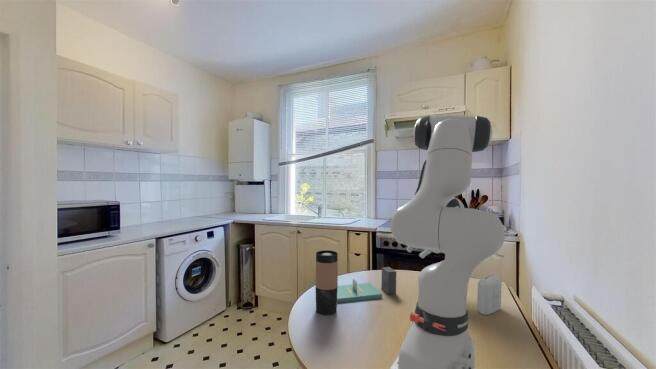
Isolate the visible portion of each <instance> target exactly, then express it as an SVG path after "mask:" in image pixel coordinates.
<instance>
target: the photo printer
mask: <svg viewBox="0 0 656 369" xmlns="http://www.w3.org/2000/svg"><path fill="white" fill-rule="evenodd" d="M502 285H503V284H502V280H501V277H499V276H498V275H495V274H488V275H485V276H482V277H481V278H480V279H479V281H478V282H477V295H476V296H477V298H476V300H477V302H476V306H477V307H476V308H477V310H476V311H477V312H478V313H480V314H482V315H485V316H487V315H492V314H493V313H496V312H497V311H500V310H501V308H502Z"/></svg>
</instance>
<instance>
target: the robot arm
mask: <svg viewBox="0 0 656 369" xmlns="http://www.w3.org/2000/svg"><path fill="white" fill-rule="evenodd" d="M412 130H413V131H412V138H413V141H414V145H415V146H416V148H418V149H420V150H423V151H427V155H426V159H425V160H424V162H423V164H422V167H421V172H420V176H419V179H418V183H417V188H416V190H415V192H414V196H413V197H412V198H411V199H410V200H409V201H408V202H406V203H405V204H404V205H402V206H400V207H398V208H397V209H396V210H395V211H394V213H393V215H392V217H391V220H390V231H391V234H392V237H393V238H394V240H395V241H396V242H397V243H398V244H402V245H404V246H407V248H406V252H408V253H412V251H413V250H414V249H419V250H423V251H421V252H420V253H419V254H418V256H419V258H421V259H425V257H426V256H428V255H430V254H431V253H432V252H433V253H435V254H440V253H443V254H444V255H445V256H444V260H441V261H440V262H436V263H432V264H430V265H427V266H426V267H423V269H422V270H421V271H420V273H419V275H418V280H417V281H418V282H417V284H418V285H417V288H418V289H417V291H418V292H417V300H418V301H417V302H416V305H415V308H414V312H413V311H411V312H410V315H409V317H408V318H409V322H410V321H411V322H412V324H411V326H410V329H409V330H408V332H407V334H406V336H405V338H404V340H403V343H402V344H401V347H400V349H399V352H398V353H399V354H398V355H397V357H396V359H395V360H394V362H393V363H392V364H391V366H390V368H389V369H477V368H476V348H475V341H474V339H473V338H472V336H471V335H470V333H469V330H468V329H469V321H470V318H469V311H468V310H467V302H468V301H467V300H468V299H467V298H468V290H469V283H470V279H471V276H472V274H473V272H474V271H475V270H476V268H477V267H478V266H479V264H481V263H482V262H483V261H484V260H486V259H488V258H489V257H492V256H494V255H495V254H497V253H498V252H499V251H500V250H501V248H502V246H503V245H504V242H505V238H506V233H505V231H506V230H505V227H504V225H503V222H502V220H501V219H500V218H499V217H498V216H497V214H496V213H494V212H489V211H486V210H481V209H476V208H471V207H465V205H464V204H463V202H462V201H461V200H460V199H458V198H456V197H457V196H460V195H461V194H463V193H464V192H465V191H466V190H468V189H469V187H470V185H471V181H472V178H471V177H472V161H473V153H477V152H482V151H484V150H485V149H486V148H488V146H489V144H490V142H491V140H492V138H493V127H492V124H491V121H490V119H489V118H488V117H485V116H479V115H475V116H470V115H460V114H459V115H457V114H455V115H454V114H444V115H443V114H441V115H440V114H439V115H433V116H430V115H427V116H422V117H420V118H418V119H417V120H416V122H415V124H414V127H413V129H412Z"/></svg>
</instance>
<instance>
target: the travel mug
mask: <svg viewBox="0 0 656 369" xmlns="http://www.w3.org/2000/svg"><path fill="white" fill-rule="evenodd" d="M315 256H316V257H315V310H316V313H317V314H319V315H322V316H331V315H334V314H335V313H336V312H337V309H338V308H337V307H338V303H337V288H338V286H339V285H338V284H339V283H338V281H339V280H338V278H339V274H338V269H339V265H338V256H339V255H338V251H335V250H327V249H326V250H318V251H317V252H316V253H315Z"/></svg>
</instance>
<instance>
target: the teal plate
mask: <svg viewBox="0 0 656 369" xmlns="http://www.w3.org/2000/svg"><path fill="white" fill-rule="evenodd" d="M382 298H383V293H382V292H381V291H379V290H378V289H377V288H376V287H375V286H374V285H373V284H371V282H366V283H364V282H363V283H358V281H357V279H355V278H352V284H343V285H338V288H337V304H339V303H349V302H356V301H357V302H358V301H364V300H365V301H366V300H375V299H382Z"/></svg>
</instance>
